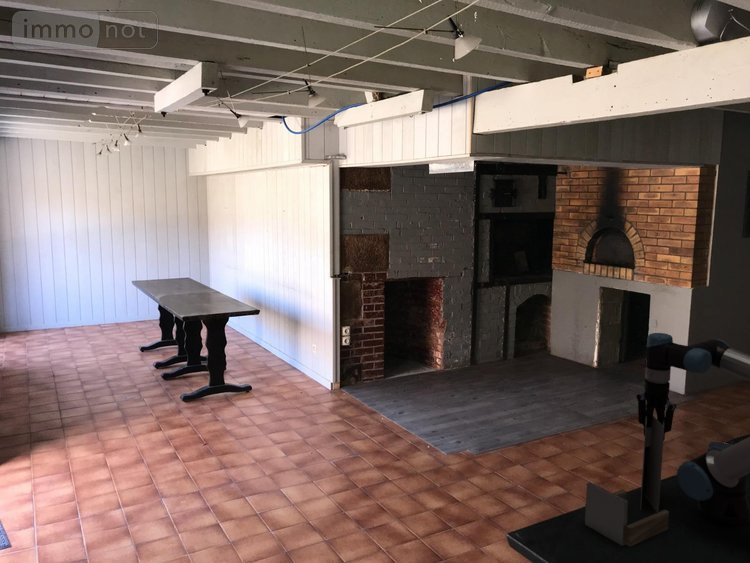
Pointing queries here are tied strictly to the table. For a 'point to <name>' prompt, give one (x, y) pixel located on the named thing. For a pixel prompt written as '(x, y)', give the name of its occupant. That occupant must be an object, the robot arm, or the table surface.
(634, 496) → the table surface
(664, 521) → the slot rails
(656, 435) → the brochure
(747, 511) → the robot arm
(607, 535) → the bookend
